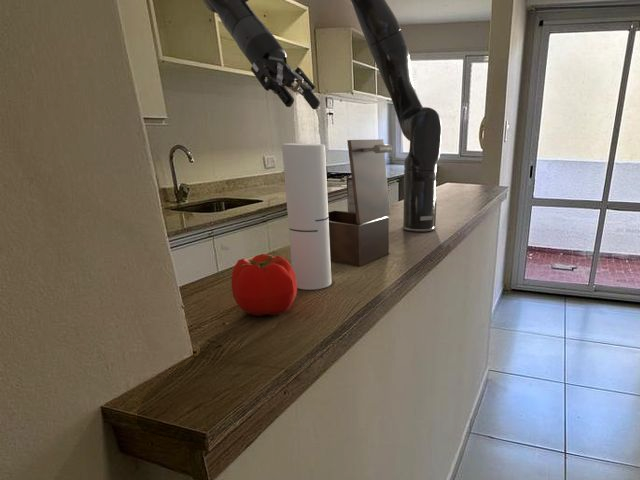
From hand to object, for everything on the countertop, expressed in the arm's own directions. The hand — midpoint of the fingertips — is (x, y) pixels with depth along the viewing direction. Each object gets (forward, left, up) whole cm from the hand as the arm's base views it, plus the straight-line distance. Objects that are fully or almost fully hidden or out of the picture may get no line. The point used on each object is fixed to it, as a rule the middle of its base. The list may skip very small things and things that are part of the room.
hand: (304, 105), depth 97 cm
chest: (-2, +10, -32) cm, 33 cm away
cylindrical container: (+17, +20, -32) cm, 42 cm away
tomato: (+31, +25, -32) cm, 51 cm away
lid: (-3, +16, -15) cm, 22 cm away
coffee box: (-18, 0, -32) cm, 37 cm away
